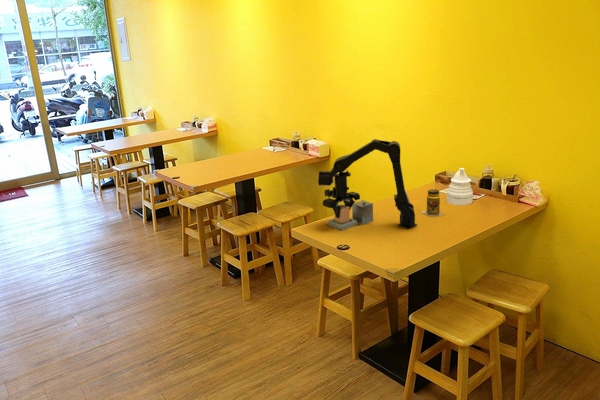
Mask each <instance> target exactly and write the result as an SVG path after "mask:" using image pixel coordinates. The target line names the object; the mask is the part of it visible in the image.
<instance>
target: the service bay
mask: <svg viewBox="0 0 600 400" xmlns="http://www.w3.org/2000/svg"><path fill="white" fill-rule="evenodd" d="M327 226H329V227H331V228H334V229H336V230H339V231H343V230H347V229H350V228H352V227H355V226H358V223H357V221H356V220H354V219H352V218H351V217H350V221H348V222H345V223H339V222H337V221H335V217H334V218H331V219H328V220H327Z"/></svg>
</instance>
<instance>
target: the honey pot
mask: <svg viewBox="0 0 600 400" xmlns="http://www.w3.org/2000/svg"><path fill="white" fill-rule="evenodd" d="M465 171H466V170H465V168H464V167H460V168H459V170H458V171H456V173H455V174H454V175H453V177H452V178H450V184H449V186H448V188H447V191H446V192H447V193H446V203H448V204H450V205H453V206H454V205H455V206H468V205H471V204H472V203H473V201H474V198H473V197H474V191H473V188H472V185H471V182H472V179H471V178H469V176H468V175H467V174H466V172H465Z"/></svg>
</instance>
